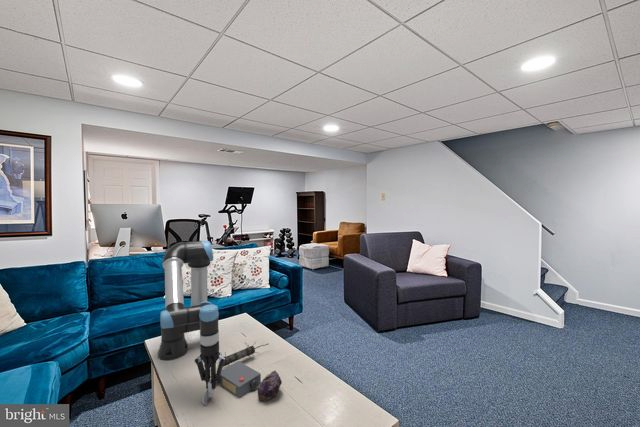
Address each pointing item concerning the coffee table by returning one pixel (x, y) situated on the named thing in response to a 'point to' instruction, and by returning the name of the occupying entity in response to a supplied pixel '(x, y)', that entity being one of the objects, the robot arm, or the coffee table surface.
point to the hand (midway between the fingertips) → (211, 395)
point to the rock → (269, 386)
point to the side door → (206, 397)
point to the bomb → (240, 354)
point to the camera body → (239, 379)
